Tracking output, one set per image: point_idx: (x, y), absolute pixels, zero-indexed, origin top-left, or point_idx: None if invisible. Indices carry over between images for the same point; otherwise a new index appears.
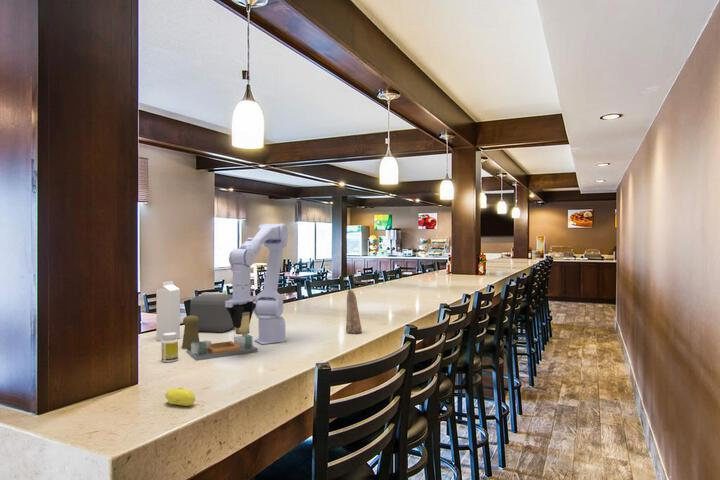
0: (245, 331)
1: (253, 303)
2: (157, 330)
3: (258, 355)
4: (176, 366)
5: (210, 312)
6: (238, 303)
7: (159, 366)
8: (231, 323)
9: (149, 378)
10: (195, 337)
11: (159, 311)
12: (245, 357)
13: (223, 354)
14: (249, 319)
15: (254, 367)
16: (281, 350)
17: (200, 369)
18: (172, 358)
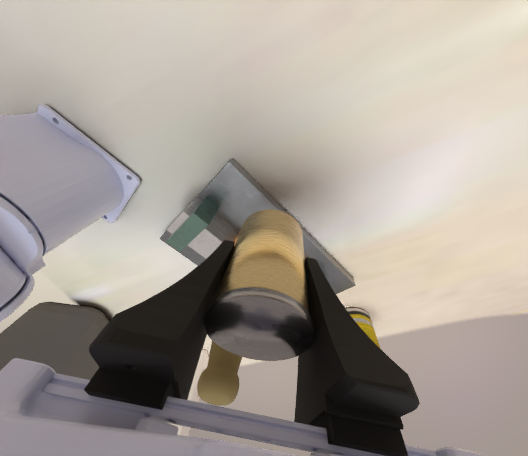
0: (293, 224)
1: (118, 360)
2: None
3: (283, 131)
4: (408, 294)
5: (80, 371)
6: (300, 446)
7: (401, 317)
8: (55, 314)
9: (512, 305)
10: None
11: (188, 430)
12: (317, 169)
13: (311, 239)
14: (224, 258)
15: (498, 55)
16: (179, 55)
17: (458, 241)
18: (368, 317)
